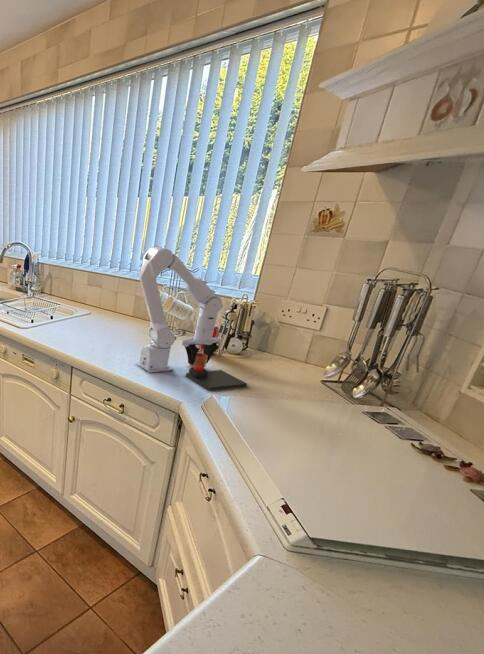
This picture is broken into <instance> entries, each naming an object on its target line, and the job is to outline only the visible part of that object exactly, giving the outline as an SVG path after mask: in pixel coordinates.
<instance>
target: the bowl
mask: <svg viewBox="0 0 484 654" xmlns="http://www.w3.org/2000/svg"><path fill="white" fill-rule="evenodd" d="M207 358H208V356H207V355H205V354H202V353H198V352H197V354H196V357H195V361H194V364H193V365H191V364H189V363H188V365H189V366H190V368H193V367H195V366H196V365H199V366H203V367H204V368H206V367H207V364H208V363H207Z"/></svg>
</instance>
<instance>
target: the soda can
mask: <svg viewBox="0 0 484 654" xmlns="http://www.w3.org/2000/svg"><path fill="white" fill-rule="evenodd" d="M219 331H220V329H219V325H218V324H217V323H215V327H214V332H213V336H212V337H219ZM196 346H197V348H199V351H198V352H197V353H202V354H203V351H204V347H203V345H196Z"/></svg>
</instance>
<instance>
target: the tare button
mask: <svg viewBox="0 0 484 654" xmlns="http://www.w3.org/2000/svg"><path fill="white" fill-rule="evenodd" d="M203 369H205V367H203V366H199V365H196V366H195V368H194V371H195V372H203Z"/></svg>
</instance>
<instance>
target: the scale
mask: <svg viewBox="0 0 484 654" xmlns="http://www.w3.org/2000/svg"><path fill="white" fill-rule="evenodd" d="M194 368H195V367H190V368H189V369H188V372H186V374H185V377H186V378H187V379H189V380H190V381H192V382H194V383H195V384H196V385H199V386H201V387H202V388H204V389H205V390H207V391H208V392H213V391H222V390H230V389H231V390H232V389H240V388H247V386H248V383H247V382H245V381H243V380H241V379H240V378H238V377H236V376H233V375H232V374H230V373H228V372H226V371H224V370H222V369H217V370H207V369H205V368H204V369H203V372H195V371H194Z"/></svg>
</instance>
